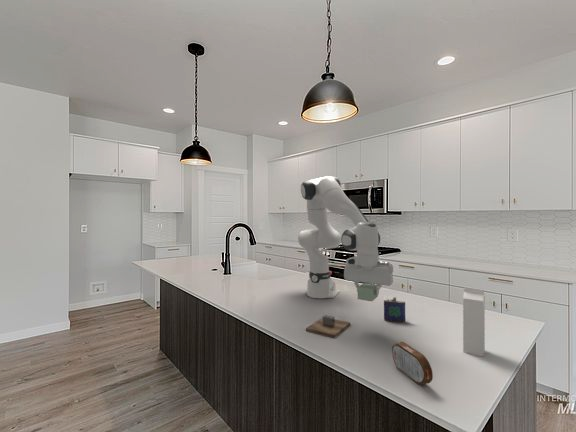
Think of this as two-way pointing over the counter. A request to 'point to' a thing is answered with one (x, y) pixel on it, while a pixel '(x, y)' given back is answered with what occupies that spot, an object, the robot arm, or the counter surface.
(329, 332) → the board
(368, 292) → the pale green block
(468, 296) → the milk
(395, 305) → the flask
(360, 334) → the counter surface
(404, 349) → the tin
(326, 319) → the grey block
